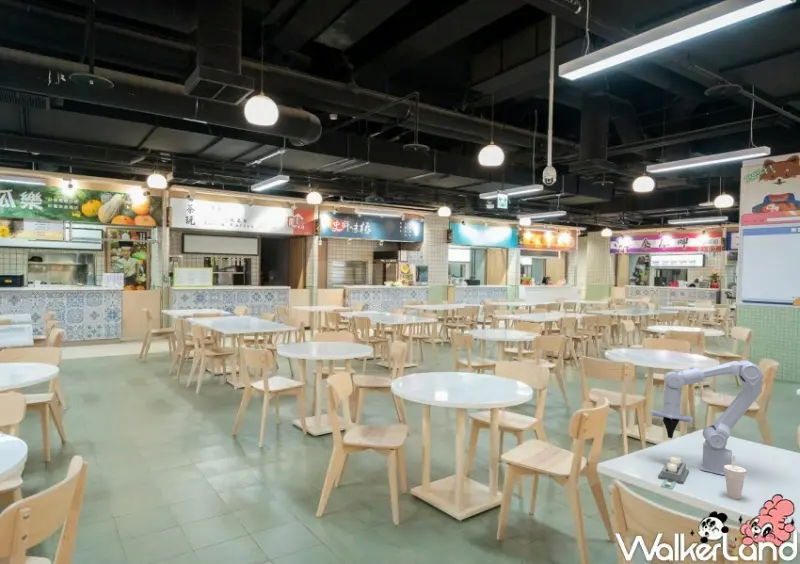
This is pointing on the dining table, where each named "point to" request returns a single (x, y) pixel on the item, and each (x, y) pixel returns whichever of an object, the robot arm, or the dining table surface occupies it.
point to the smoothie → (734, 480)
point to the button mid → (675, 461)
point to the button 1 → (672, 468)
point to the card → (668, 484)
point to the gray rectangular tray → (674, 474)
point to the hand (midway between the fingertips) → (670, 437)
